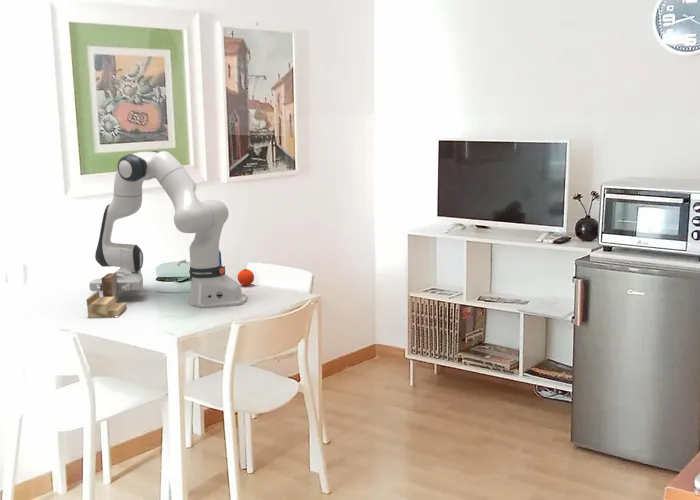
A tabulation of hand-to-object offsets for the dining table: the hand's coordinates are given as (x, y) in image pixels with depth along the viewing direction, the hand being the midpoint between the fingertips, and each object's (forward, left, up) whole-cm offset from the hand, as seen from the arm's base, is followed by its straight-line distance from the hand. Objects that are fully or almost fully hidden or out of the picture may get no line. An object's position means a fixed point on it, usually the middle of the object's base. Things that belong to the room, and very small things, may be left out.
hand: (110, 289), depth 306 cm
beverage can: (-31, -46, -7) cm, 56 cm away
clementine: (-48, -29, -7) cm, 56 cm away
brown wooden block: (0, 0, -7) cm, 7 cm away
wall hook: (-21, -40, -7) cm, 46 cm away
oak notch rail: (-1, +11, -7) cm, 13 cm away
